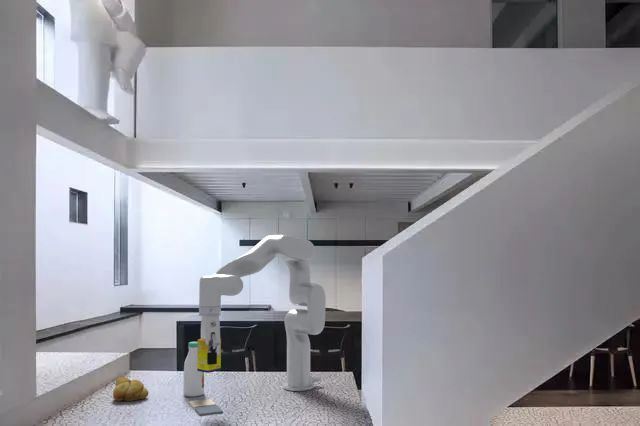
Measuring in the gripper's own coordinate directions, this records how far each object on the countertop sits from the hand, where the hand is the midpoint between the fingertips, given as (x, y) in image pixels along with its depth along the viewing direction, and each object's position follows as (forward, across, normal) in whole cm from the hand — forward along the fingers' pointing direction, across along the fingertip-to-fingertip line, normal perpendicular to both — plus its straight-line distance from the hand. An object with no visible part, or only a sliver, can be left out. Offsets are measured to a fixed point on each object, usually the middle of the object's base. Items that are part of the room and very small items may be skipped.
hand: (209, 361), depth 192 cm
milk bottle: (+17, +25, 0) cm, 30 cm away
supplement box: (+3, 0, 0) cm, 3 cm away
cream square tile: (+17, +10, 0) cm, 19 cm away
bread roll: (+17, +28, +23) cm, 40 cm away
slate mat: (+17, 0, 0) cm, 17 cm away
